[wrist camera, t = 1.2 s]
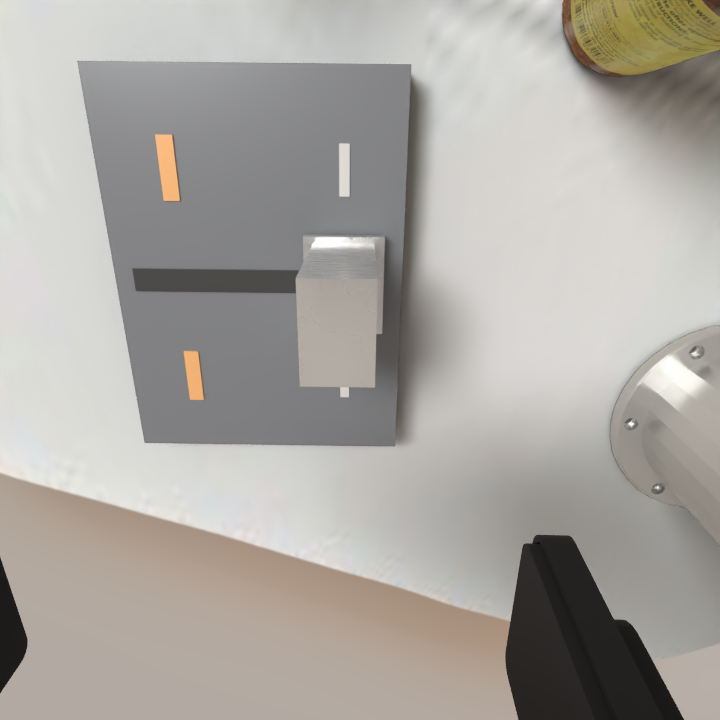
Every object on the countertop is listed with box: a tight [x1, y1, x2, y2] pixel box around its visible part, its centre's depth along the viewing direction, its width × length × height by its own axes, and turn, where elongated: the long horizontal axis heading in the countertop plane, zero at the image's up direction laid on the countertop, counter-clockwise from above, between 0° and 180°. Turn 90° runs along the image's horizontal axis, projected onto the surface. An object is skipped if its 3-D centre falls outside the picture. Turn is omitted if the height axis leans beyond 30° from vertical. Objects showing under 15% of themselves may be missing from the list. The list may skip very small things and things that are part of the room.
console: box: [77, 61, 411, 446], centre depth 28 cm, size 15×20×3 cm
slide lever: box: [296, 234, 385, 388], centre depth 23 cm, size 4×5×8 cm
